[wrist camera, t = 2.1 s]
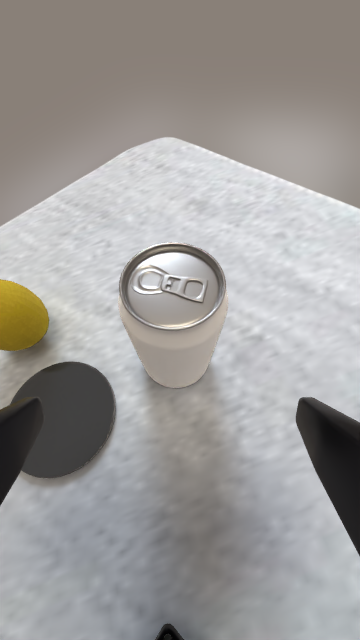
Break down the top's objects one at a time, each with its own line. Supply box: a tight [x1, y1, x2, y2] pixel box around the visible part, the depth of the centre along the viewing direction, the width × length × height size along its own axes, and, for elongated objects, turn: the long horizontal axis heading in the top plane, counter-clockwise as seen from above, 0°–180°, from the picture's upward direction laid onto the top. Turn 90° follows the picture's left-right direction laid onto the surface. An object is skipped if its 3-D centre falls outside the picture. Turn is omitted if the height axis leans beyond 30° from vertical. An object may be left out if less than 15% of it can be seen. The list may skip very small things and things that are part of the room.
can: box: [118, 242, 228, 388], centre depth 18 cm, size 6×6×12 cm
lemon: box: [0, 280, 49, 351], centre depth 21 cm, size 6×6×8 cm
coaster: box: [10, 362, 116, 478], centre depth 21 cm, size 9×9×1 cm
